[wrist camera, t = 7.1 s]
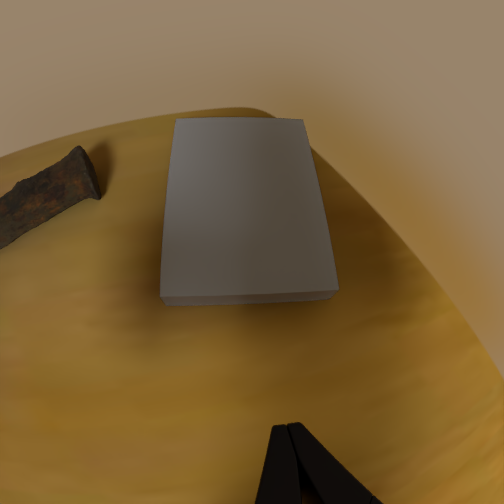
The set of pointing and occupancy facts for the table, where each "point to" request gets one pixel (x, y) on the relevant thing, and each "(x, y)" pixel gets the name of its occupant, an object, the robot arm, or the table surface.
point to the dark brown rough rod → (47, 195)
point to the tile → (244, 215)
